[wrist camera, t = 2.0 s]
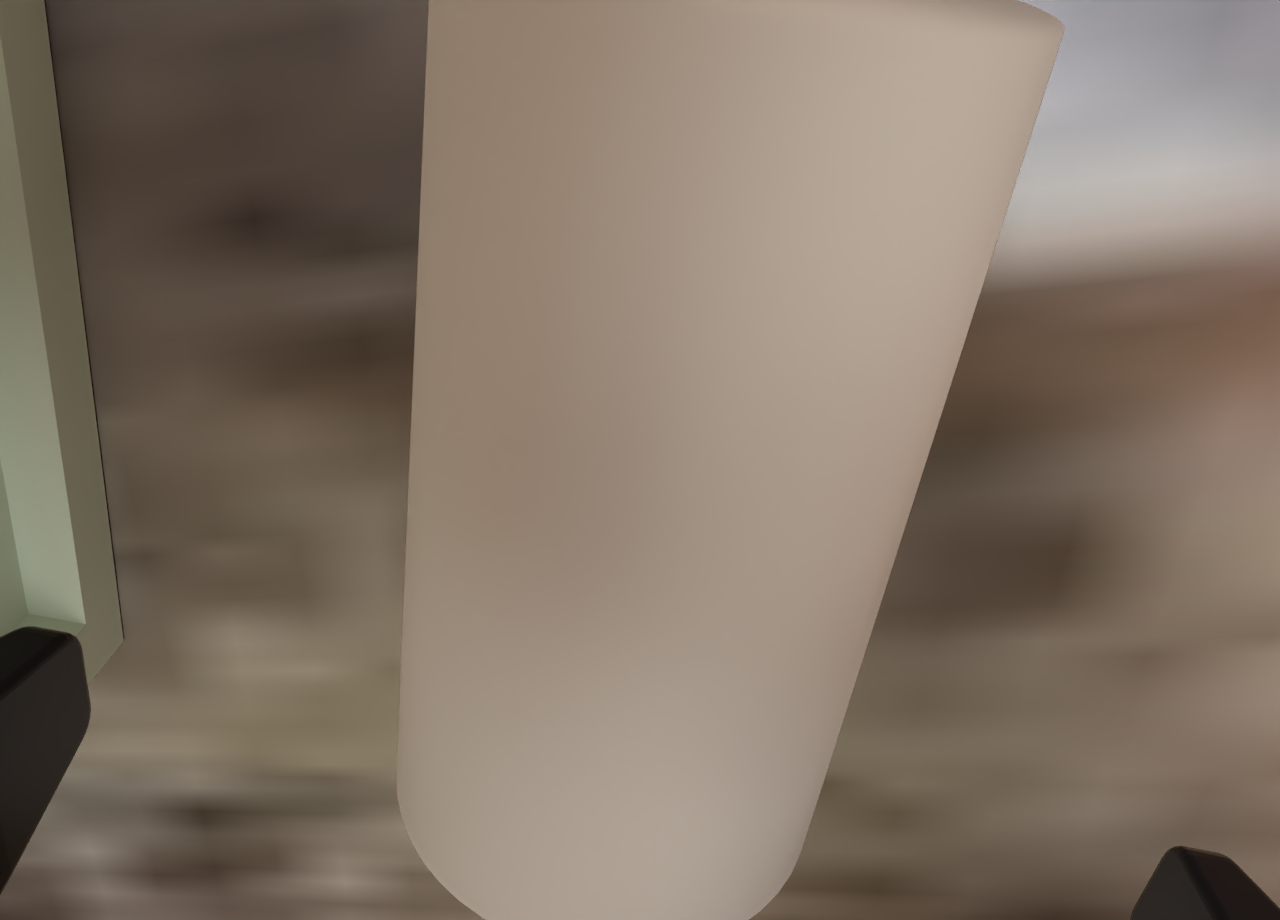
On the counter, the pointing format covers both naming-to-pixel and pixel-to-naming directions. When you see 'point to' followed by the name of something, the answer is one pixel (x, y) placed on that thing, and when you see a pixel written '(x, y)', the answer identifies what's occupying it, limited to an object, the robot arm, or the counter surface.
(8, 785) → the robot arm
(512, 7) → the paper roll
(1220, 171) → the counter surface
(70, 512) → the holder
